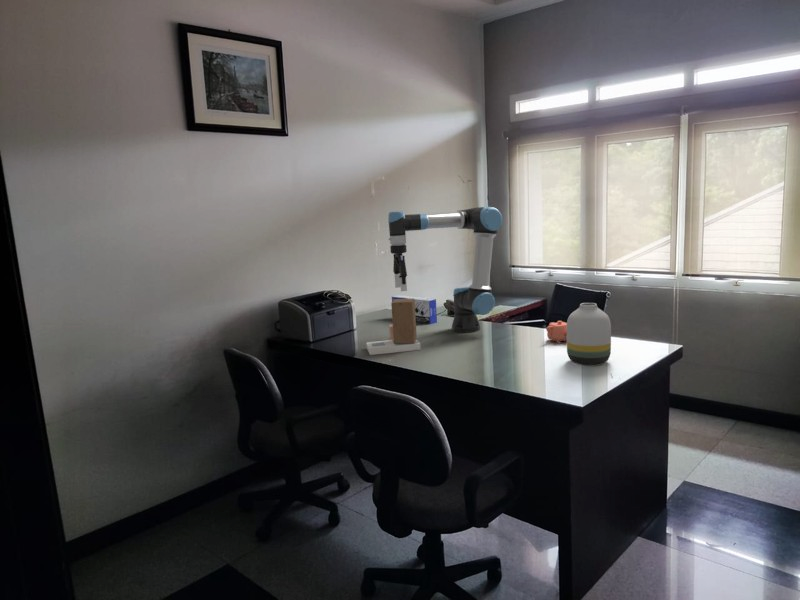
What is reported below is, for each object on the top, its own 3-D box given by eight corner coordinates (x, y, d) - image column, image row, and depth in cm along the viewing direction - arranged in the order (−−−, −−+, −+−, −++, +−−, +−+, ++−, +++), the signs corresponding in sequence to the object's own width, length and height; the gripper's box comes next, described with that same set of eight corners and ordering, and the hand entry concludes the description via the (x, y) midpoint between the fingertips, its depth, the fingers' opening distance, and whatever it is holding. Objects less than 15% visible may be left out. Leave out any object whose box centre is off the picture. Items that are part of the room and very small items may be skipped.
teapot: (571, 344, 255) (571, 324, 254) (545, 343, 261) (544, 323, 259) (575, 338, 266) (575, 319, 264) (550, 337, 271) (550, 318, 269)
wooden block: (414, 343, 262) (412, 301, 258) (393, 344, 263) (391, 302, 260) (416, 338, 271) (414, 298, 268) (396, 339, 273) (394, 299, 269)
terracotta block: (399, 339, 287) (398, 323, 285) (401, 341, 282) (400, 325, 280) (389, 339, 286) (388, 324, 285) (391, 342, 281) (390, 326, 280)
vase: (588, 354, 238) (588, 299, 234) (620, 363, 223) (620, 304, 219) (558, 361, 231) (557, 304, 227) (588, 370, 216) (588, 309, 212)
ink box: (392, 319, 338) (390, 296, 336) (400, 317, 343) (398, 294, 341) (429, 324, 317) (428, 300, 315) (437, 322, 322) (436, 298, 320)
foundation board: (415, 343, 275) (414, 337, 274) (420, 349, 262) (420, 343, 262) (366, 348, 271) (366, 342, 270) (369, 354, 258) (369, 348, 258)
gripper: (385, 243, 273) (388, 286, 277) (395, 246, 249) (398, 293, 252) (400, 242, 275) (403, 285, 278) (411, 245, 250) (414, 292, 254)
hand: (400, 289), depth 265 cm, fingers open, 13 cm apart
